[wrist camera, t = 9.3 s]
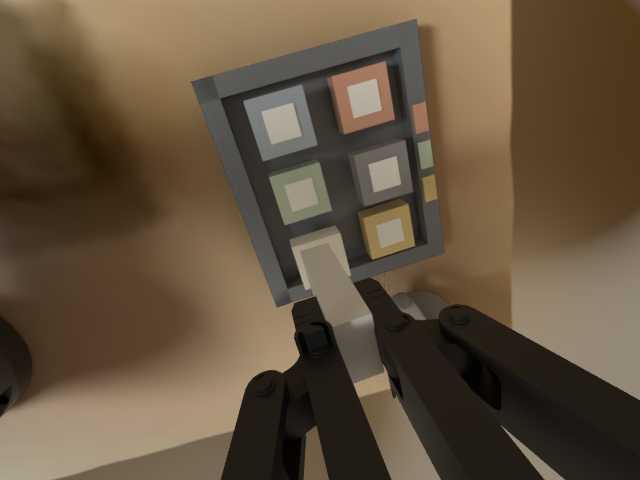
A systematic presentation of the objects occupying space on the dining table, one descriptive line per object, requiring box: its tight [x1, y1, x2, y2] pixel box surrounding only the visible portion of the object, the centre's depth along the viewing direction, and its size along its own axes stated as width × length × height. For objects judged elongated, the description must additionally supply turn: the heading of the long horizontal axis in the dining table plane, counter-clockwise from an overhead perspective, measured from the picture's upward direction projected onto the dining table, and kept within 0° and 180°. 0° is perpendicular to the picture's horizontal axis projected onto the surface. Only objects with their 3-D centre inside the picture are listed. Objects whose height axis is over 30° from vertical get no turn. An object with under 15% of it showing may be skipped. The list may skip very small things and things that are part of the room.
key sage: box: [268, 159, 332, 225], centre depth 29 cm, size 4×4×2 cm
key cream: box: [290, 225, 351, 290], centre depth 30 cm, size 4×4×2 cm
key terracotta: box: [327, 61, 395, 134], centre depth 27 cm, size 4×4×2 cm
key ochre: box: [357, 199, 415, 260], centre depth 32 cm, size 4×4×2 cm
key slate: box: [243, 84, 317, 161], centre depth 26 cm, size 4×4×2 cm
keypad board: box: [191, 19, 445, 307], centre depth 31 cm, size 18×21×3 cm
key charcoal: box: [348, 138, 413, 206], centre depth 28 cm, size 4×4×2 cm
